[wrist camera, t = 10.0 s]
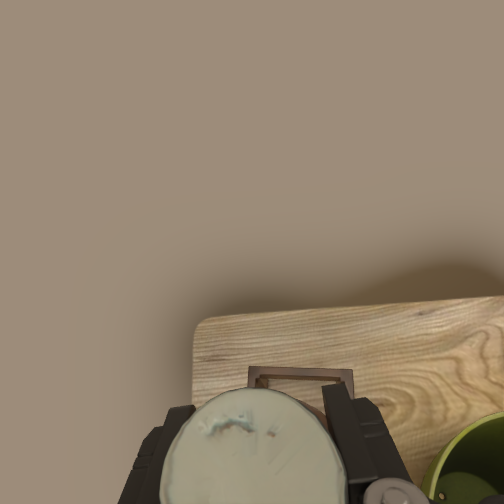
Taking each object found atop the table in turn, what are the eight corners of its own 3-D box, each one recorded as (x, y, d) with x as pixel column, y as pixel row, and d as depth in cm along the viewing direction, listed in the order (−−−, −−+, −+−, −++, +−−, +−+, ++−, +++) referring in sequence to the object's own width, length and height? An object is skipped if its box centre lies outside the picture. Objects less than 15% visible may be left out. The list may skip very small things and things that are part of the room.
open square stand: (252, 481, 38) (240, 484, 32) (257, 379, 43) (248, 365, 37) (353, 489, 37) (360, 494, 31) (347, 382, 42) (352, 369, 35)
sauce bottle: (296, 565, 22) (220, 883, 5) (226, 478, 25) (30, 501, 8) (363, 477, 24) (471, 504, 7) (291, 404, 27) (241, 296, 10)
